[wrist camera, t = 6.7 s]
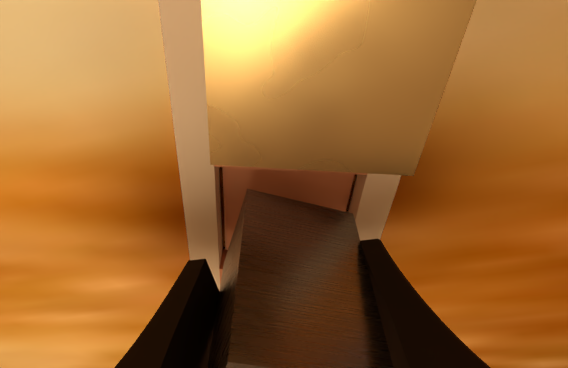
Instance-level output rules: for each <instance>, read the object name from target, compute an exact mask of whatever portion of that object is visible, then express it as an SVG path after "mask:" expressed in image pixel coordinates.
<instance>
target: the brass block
mask: <svg viewBox="0 0 568 368" xmlns="http://www.w3.org/2000/svg"><path fill="white" fill-rule="evenodd" d="M475 3H476V0H201V11H202V29H203V46H204V63H205V81H206V98H207V115H208V133H209V150H210V165H224V166H242V167H260V168H279V169H297V170H315V171H333V172H351V173H369V174H387V175H405V176H414V173H415V170H416V168H417V165H418V162H419V159H420V157H421V154H422V151H423V148H424V145H425V143H426V140H427V137H428V134H429V131H430V129H431V126H432V123H433V120H434V117H435V115H436V112H437V109H438V106H439V104H440V101H441V98H442V95H443V92H444V90H445V87H446V84H447V81H448V78H449V76H450V73H451V70H452V67H453V64H454V62H455V59H456V56H457V53H458V51H459V48H460V45H461V42H462V39H463V37H464V34H465V31H466V28H467V25H468V23H469V20H470V17H471V14H472V11H473V9H474V6H475Z"/></svg>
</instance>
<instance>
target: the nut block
mask: <svg viewBox="0 0 568 368" xmlns="http://www.w3.org/2000/svg"><path fill="white" fill-rule="evenodd" d="M207 368H394V367H393V364H392V360H391V356H390V352H389V348H388V345H387V341H386V337H385V333H384V329H383V325H382V322H381V318H380V314H379V310H378V306H377V303H376V299H375V295H374V291H373V287H372V284H371V280H370V276H369V272H368V270H367V267H366V264H365V260H364V256H363V252H362V248H361V244H360V238H359V234H358V230H357V226H356V222H355V219H354V215H353V213H349V212H344V211H340V210H336V209H332V208H327V207H323V206H319V205H315V204H310V203H306V202H302V201H298V200H293V199H289V198H285V197H281V196H276V195H272V194H268V193H264V192H259V191H255V190H251V189H247V191H246V194H245V197H244V201H243V204H242V207H241V210H240V213H239V216H238V220H237V223H236V226H235V229H234V232H233V235H232V239H231V242H230V245H229V248H228V251H227V254H226V258H225V261H224V265H223V271H222V278H221V284H220V291H219V298H218V305H217V311H216V317H215V323H214V329H213V335H212V342H211V348H210V355H209V361H208V367H207Z"/></svg>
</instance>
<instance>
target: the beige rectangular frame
mask: <svg viewBox="0 0 568 368" xmlns="http://www.w3.org/2000/svg"><path fill="white" fill-rule="evenodd" d="M158 3H159V12H160V20H161V28H162V36H163V44H164V52H165V60H166V68H167V77H168V85H169V93H170V101H171V109H172V117H173V125H174V134H175V142H176V150H177V158H178V166H179V174H180V182H181V190H182V199H183V207H184V215H185V223H186V231H187V239H188V247H189V255H190V260H197V259H206V261H207V263H208V265H209V268H210V270H211V273H212V275H213V277H214V280H215V282H216V285H217V287H218V289H219V291H220V284H221V278H222V271H223V265H224V261H225V258H226V254H227V251H228V248H229V245H230V242H231V239H232V235H233V232H234V229H235V226H236V223H237V220H238V216H239V213H240V210H241V207H242V204H243V201H244V197H245V194H246V191H247V189H251V190H255V191H259V192H264V193H268V194H272V195H276V196H281V197H285V198H289V199H293V200H298V201H302V202H306V203H310V204H315V205H319V206H323V207H327V208H332V209H336V210H340V211H344V212H346V209H347V204H348V200H349V196H350V192H351V188H352V183H353V179H354V175H355V174H357V176H356V180H355V184H354V188H353V192H352V196H351V200H350V205H349V209H348V212H349V213H353V215H354V219H355V222H356V226H357V230H358V234H359V238H360V241H361V240H370V239H379V240H380V238H381V235H382V232H383V229H384V226H385V223H386V220H387V217H388V214H389V211H390V208H391V205H392V202H393V199H394V196H395V193H396V190H397V187H398V184H399V181H400V178H401V175H387V174H369V173H351V172H333V171H315V170H297V169H279V168H260V167H242V166H224V165H210V150H209V133H208V115H207V98H206V81H205V63H204V46H203V29H202V11H201V0H158ZM219 167H223V195H224V224H225V249H223V242H222V218H221V193H220V168H219Z"/></svg>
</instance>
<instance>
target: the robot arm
mask: <svg viewBox="0 0 568 368" xmlns="http://www.w3.org/2000/svg"><path fill="white" fill-rule="evenodd" d="M360 244H361V248H362V252H363V256H364V260H365V264H366V267H367V270H368V272H369V276H370V280H371V284H372V287H373V291H374V295H375V299H376V303H377V306H378V310H379V314H380V318H381V322H382V325H383V329H384V333H385V337H386V341H387V345H388V348H389V352H390V356H391V360H392V364H393V367H394V368H490V367H489V366H488V365H487V364H486V363H485V362H483V361H482V360H481V359H480V358H479V357H478V356H477V355H476V354H474V353H473V352H472V351H471V350H470V349H469V348H468V347H467V346H466V345H465V344H464V343H463V342H462V341H461V340H460V339H459V338H458V337H457V336H456V335H455V334H454V333H453V332H452V331H451V330H450V329H449V328H448V327H447V326H446V325H445V324H444V323H443V322H442V321H441V319H440V318H439V317H438V316H437V315H436V314H435V313H434V312H433V311H432V309H431V308H430V307H429V306H428V305H427V304H426V303H425V301H424V300H423V299H422V298H421V297H420V295H419V294H418V293H417V292H416V290H415V289H414V288H413V287H412V285H411V284H410V283H409V282H408V280H407V279H406V278H405V276H404V275H403V274H402V272H401V271H400V270H399V268H398V267H397V265H396V264H395V262H394V261H393V259H392V258H391V256H390V255H389V253H388V252H387V250H386V248H385V247H384V245H383V243H382V242H381V240H379V239H370V240H361V241H360ZM218 298H219V289H218V287H217V285H216V282H215V280H214V277H213V275H212V273H211V270H210V268H209V265H208V263H207V261H206V259H197V260H189V261H188V262H187V264H186V265H185V267H184V269H183V270H182V272H181V274H180V275H179V277H178V279H177V280H176V282H175V284H174V285H173V287H172V288H171V290H170V292H169V293H168V295H167V296H166V298H165V299H164V301H163V302H162V304H161V305H160V307H159V309H158V310H157V312H156V313H155V315H154V316H153V318H152V319H151V320H150V322H149V323H148V325H147V326H146V327H145V329H144V330H143V332H142V333H141V334H140V336H139V337H138V339H137V340H136V341H135V343H134V344H133V345H132V347H131V348H130V349H129V350H128V352H127V353H126V354H125V355H124V357H123V358H122V359H121V360H120V362H119V363H118V364H117V365H116V366H115V368H207V367H208V361H209V355H210V348H211V342H212V335H213V329H214V323H215V317H216V311H217V305H218Z"/></svg>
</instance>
